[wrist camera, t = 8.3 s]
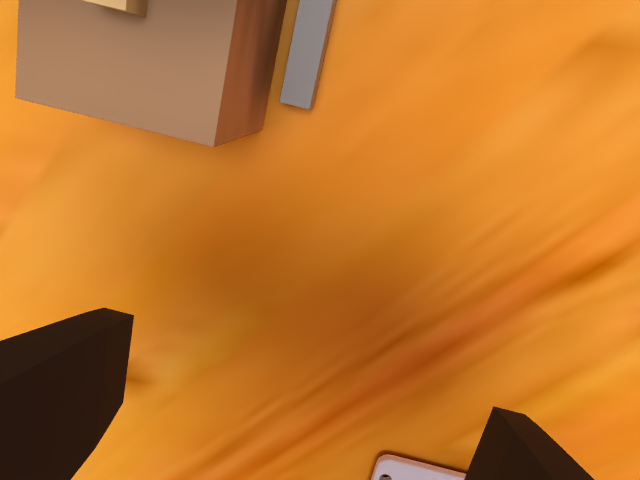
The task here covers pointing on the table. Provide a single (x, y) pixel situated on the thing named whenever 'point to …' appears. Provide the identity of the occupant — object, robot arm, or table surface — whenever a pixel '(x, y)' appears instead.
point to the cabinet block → (153, 62)
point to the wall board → (307, 52)
